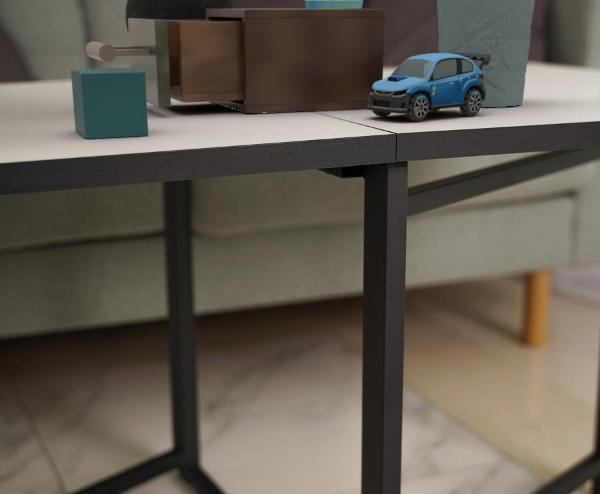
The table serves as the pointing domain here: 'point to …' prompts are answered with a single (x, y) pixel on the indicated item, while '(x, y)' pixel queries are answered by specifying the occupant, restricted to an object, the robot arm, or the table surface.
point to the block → (109, 102)
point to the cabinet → (307, 58)
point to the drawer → (183, 58)
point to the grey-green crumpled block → (490, 42)
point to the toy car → (431, 86)
